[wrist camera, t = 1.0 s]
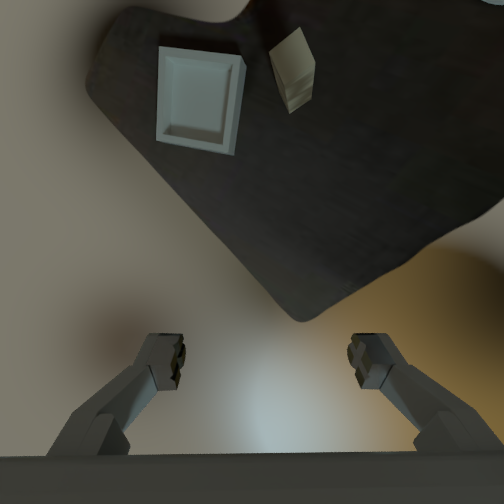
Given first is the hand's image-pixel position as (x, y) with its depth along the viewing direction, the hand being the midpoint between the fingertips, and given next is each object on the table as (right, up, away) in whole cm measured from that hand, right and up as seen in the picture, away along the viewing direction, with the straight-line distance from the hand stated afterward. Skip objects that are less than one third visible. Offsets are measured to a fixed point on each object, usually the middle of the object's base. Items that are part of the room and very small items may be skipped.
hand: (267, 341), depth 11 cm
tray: (-10, +31, +30) cm, 44 cm away
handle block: (+6, +31, +26) cm, 41 cm away
